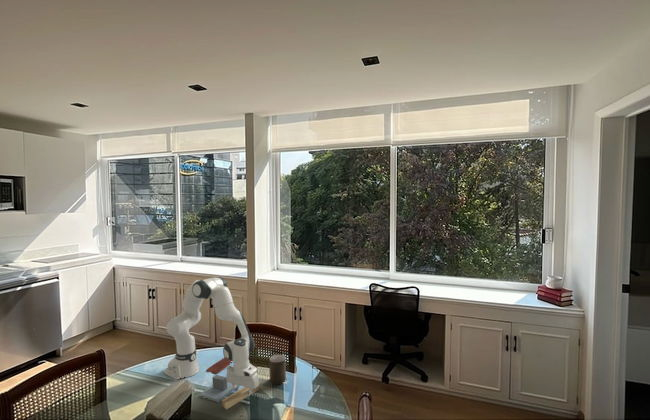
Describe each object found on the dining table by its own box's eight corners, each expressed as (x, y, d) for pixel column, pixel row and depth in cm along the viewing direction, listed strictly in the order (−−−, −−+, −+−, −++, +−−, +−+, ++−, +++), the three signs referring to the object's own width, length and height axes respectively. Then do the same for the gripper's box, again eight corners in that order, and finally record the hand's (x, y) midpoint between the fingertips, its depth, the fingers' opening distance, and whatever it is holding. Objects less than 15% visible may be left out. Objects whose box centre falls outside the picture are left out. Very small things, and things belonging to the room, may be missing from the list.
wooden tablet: (217, 375, 215) (216, 373, 215) (204, 372, 219) (204, 370, 219) (242, 355, 240) (242, 353, 239) (231, 353, 244) (231, 351, 243)
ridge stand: (199, 396, 193) (199, 383, 192) (221, 379, 209) (220, 367, 209) (219, 402, 187) (218, 388, 186) (239, 384, 203) (239, 371, 203)
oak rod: (222, 407, 183) (221, 400, 183) (256, 386, 202) (256, 379, 202) (226, 410, 181) (226, 403, 181) (261, 388, 200) (260, 381, 199)
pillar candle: (278, 386, 201) (277, 362, 200) (266, 380, 207) (266, 357, 206) (289, 378, 208) (288, 355, 207) (278, 373, 214) (277, 350, 213)
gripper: (223, 368, 192) (224, 391, 193) (253, 374, 184) (254, 399, 185) (230, 362, 198) (231, 385, 199) (259, 369, 189) (261, 392, 190)
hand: (242, 392), depth 191 cm, fingers open, 8 cm apart
